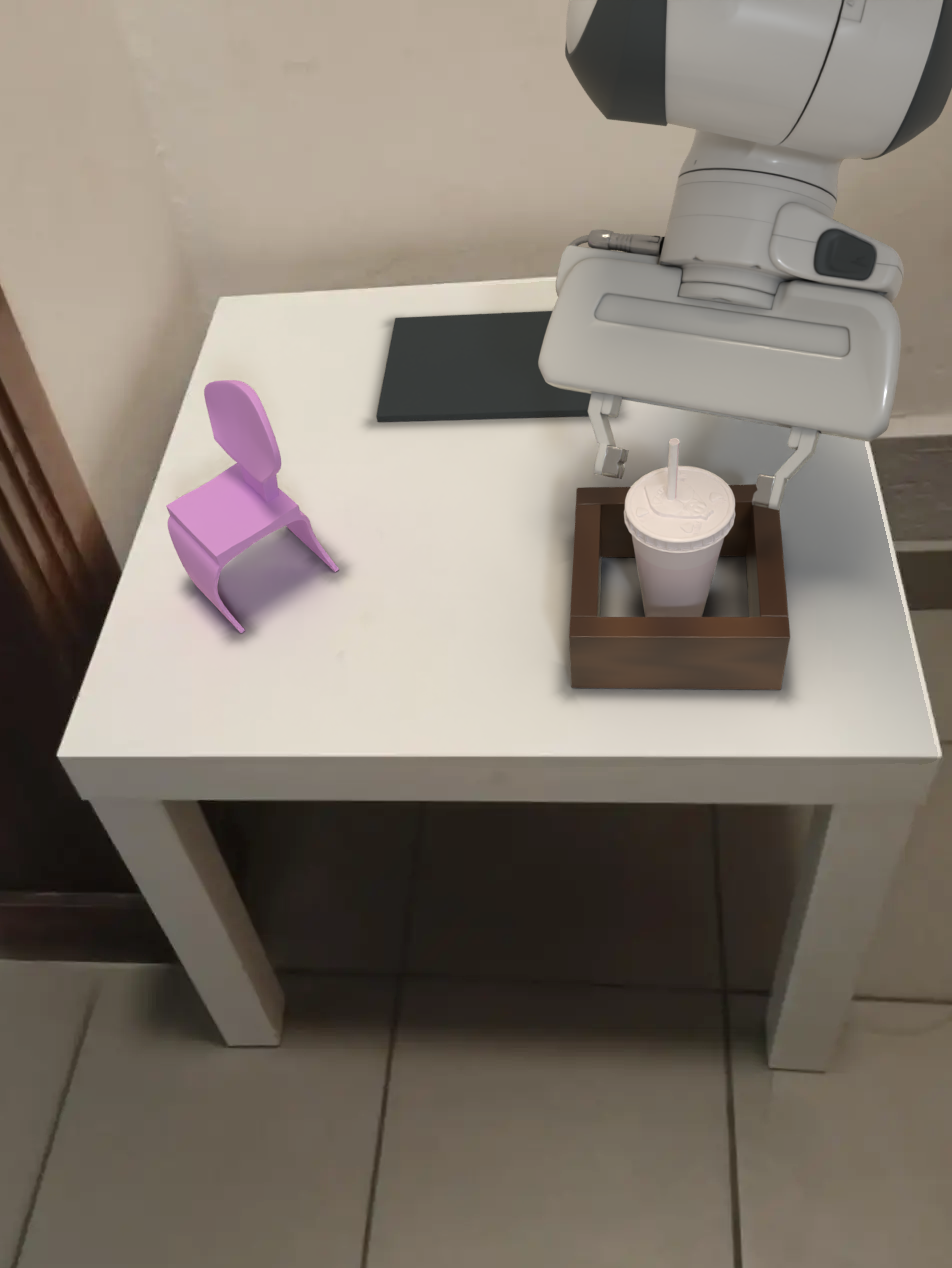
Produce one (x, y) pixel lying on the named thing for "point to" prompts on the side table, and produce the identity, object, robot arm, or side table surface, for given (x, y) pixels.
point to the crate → (678, 644)
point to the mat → (471, 370)
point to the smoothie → (678, 534)
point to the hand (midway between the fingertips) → (684, 492)
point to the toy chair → (235, 494)
